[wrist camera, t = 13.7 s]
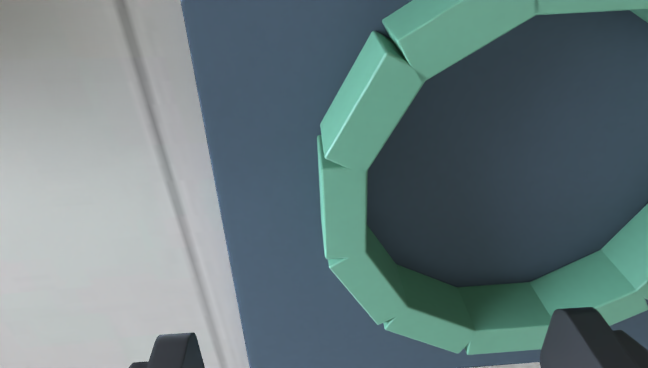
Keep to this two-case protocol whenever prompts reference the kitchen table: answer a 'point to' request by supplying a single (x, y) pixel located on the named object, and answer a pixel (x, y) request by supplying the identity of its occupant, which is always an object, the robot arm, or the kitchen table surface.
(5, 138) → the kitchen table surface
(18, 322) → the kitchen table surface
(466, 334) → the ring
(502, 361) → the mat
